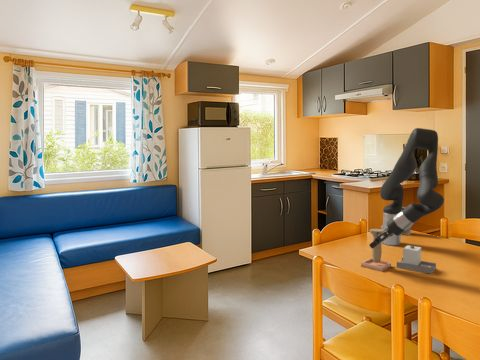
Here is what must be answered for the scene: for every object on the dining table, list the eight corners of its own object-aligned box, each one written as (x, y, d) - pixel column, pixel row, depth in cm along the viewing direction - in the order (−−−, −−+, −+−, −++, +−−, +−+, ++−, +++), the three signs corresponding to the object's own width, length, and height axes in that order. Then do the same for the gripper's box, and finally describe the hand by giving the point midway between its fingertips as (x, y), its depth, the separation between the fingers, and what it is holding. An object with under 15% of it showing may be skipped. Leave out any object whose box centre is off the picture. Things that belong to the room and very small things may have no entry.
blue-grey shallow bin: (396, 267, 175) (396, 261, 175) (401, 262, 182) (402, 257, 181) (431, 273, 166) (431, 268, 166) (435, 268, 173) (435, 263, 172)
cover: (402, 263, 174) (403, 246, 173) (406, 259, 179) (407, 243, 178) (416, 266, 171) (417, 249, 170) (420, 262, 176) (421, 245, 175)
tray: (361, 266, 178) (361, 262, 177) (370, 261, 184) (370, 257, 184) (381, 271, 170) (381, 267, 170) (391, 266, 176) (391, 262, 176)
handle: (368, 260, 180) (369, 228, 178) (383, 261, 178) (384, 229, 177) (369, 263, 175) (370, 231, 174) (384, 264, 174) (385, 231, 172)
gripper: (399, 213, 175) (372, 235, 184) (389, 219, 164) (360, 242, 173) (411, 226, 172) (383, 248, 181) (401, 233, 161) (372, 256, 170)
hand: (372, 245), depth 177 cm, fingers closed on handle, 3 cm apart
